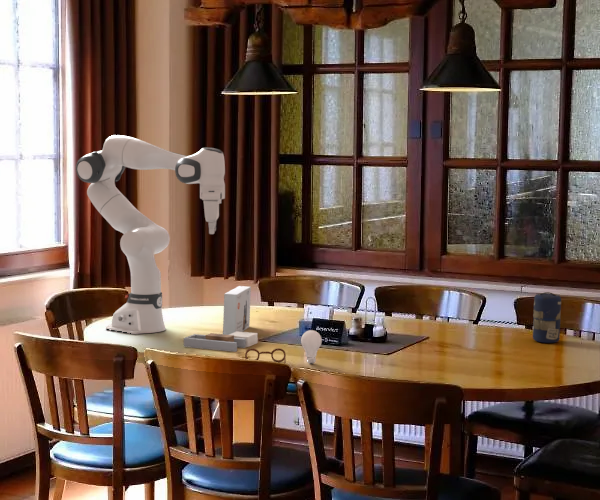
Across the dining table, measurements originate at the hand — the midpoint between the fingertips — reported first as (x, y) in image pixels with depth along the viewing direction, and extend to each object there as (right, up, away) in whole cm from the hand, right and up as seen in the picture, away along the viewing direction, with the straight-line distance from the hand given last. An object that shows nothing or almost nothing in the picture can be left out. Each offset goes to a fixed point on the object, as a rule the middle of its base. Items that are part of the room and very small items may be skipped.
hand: (212, 232), depth 365 cm
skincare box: (+8, -37, +20) cm, 42 cm away
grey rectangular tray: (+2, -40, -9) cm, 41 cm away
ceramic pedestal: (+11, -39, -3) cm, 41 cm away
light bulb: (+35, -43, -34) cm, 65 cm away
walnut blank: (+3, -40, -9) cm, 41 cm away
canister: (+120, -39, +5) cm, 126 cm away
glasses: (+20, -44, -37) cm, 61 cm away
